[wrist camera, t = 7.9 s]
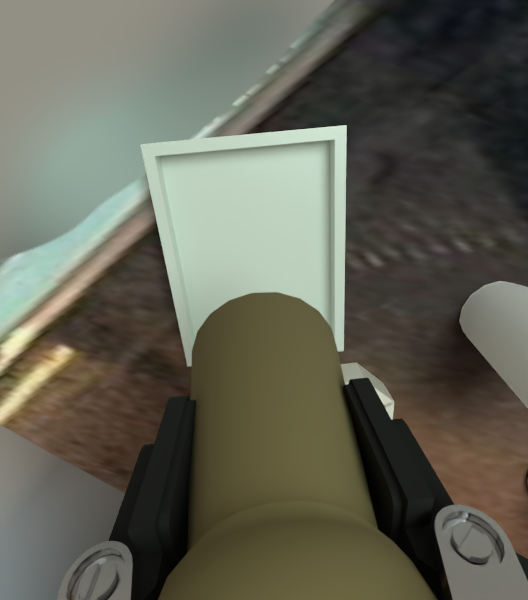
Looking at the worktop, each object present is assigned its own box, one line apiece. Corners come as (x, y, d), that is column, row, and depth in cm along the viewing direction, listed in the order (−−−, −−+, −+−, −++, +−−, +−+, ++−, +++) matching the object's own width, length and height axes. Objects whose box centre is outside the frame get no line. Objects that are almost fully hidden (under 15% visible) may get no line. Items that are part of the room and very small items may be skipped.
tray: (336, 336, 32) (343, 350, 30) (191, 351, 32) (187, 366, 30) (337, 127, 25) (346, 125, 23) (149, 145, 25) (140, 144, 23)
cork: (364, 327, 14) (702, 817, 4) (293, 431, 16) (381, 929, 6) (229, 265, 12) (161, 775, 2) (170, 387, 14) (-6, 944, 4)
